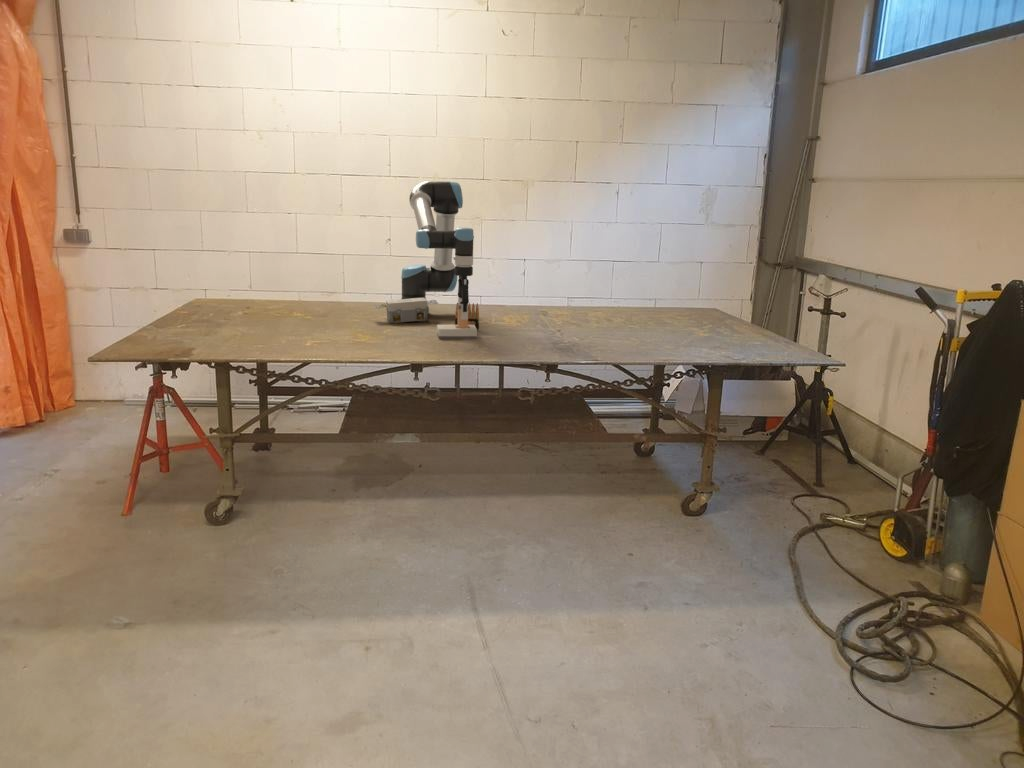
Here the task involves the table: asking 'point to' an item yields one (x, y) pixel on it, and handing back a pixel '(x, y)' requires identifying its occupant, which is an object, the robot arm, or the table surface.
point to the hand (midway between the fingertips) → (462, 316)
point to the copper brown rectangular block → (461, 322)
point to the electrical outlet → (407, 309)
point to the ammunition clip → (470, 315)
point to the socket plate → (456, 332)
